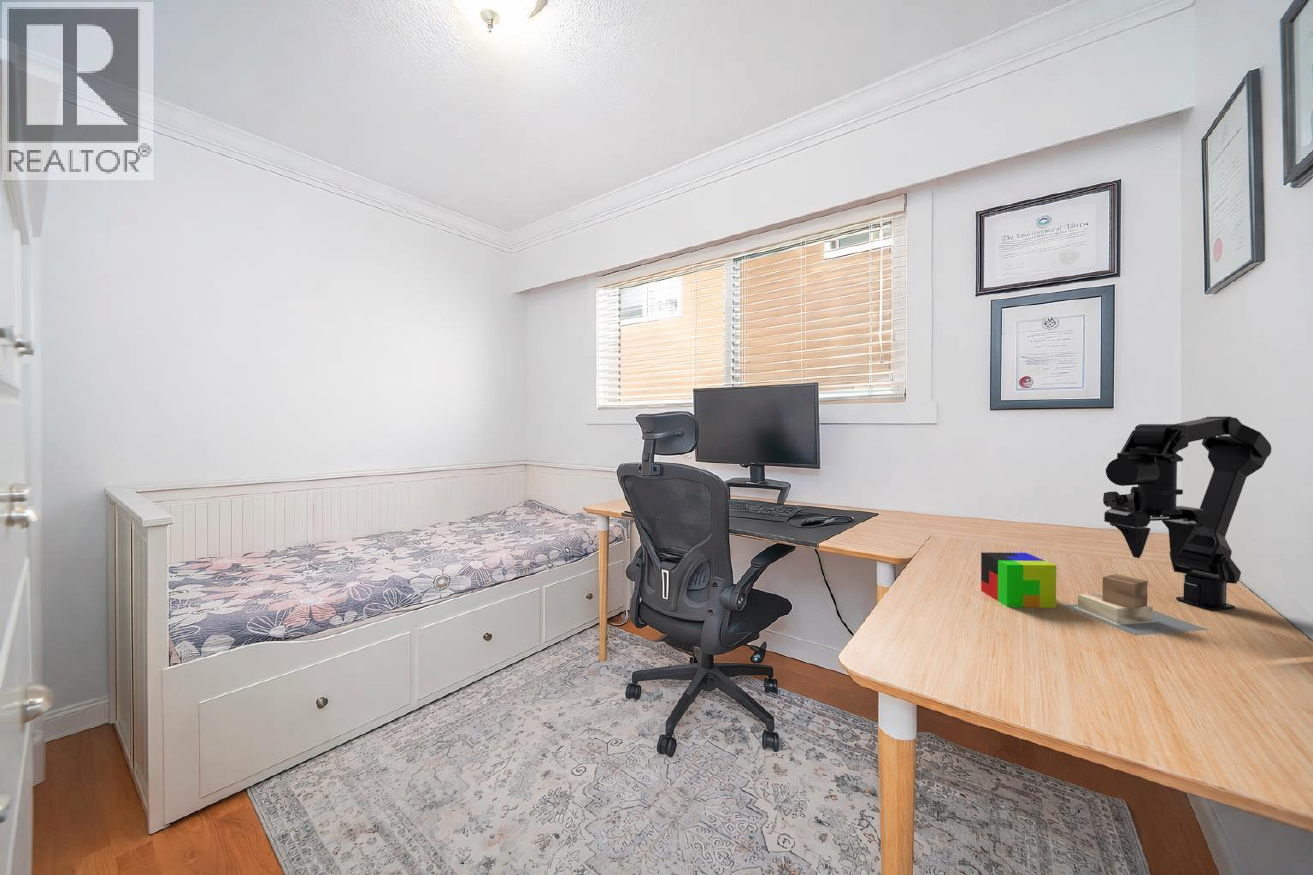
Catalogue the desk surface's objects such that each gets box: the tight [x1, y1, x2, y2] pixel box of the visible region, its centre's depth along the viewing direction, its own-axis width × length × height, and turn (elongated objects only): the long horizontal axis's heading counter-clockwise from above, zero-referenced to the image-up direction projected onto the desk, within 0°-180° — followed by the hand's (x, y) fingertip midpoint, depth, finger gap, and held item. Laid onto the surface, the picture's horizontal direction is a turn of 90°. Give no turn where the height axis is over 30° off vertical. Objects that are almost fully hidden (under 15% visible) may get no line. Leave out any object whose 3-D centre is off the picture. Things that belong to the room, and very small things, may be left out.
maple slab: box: [1077, 592, 1153, 623], centre depth 101 cm, size 8×8×3 cm
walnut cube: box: [1102, 573, 1149, 609], centre depth 99 cm, size 5×5×5 cm
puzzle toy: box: [980, 551, 1057, 608], centre depth 111 cm, size 10×10×10 cm
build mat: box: [1060, 603, 1209, 636], centre depth 100 cm, size 16×15×1 cm
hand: (1155, 556), depth 103 cm, fingers open, 9 cm apart
